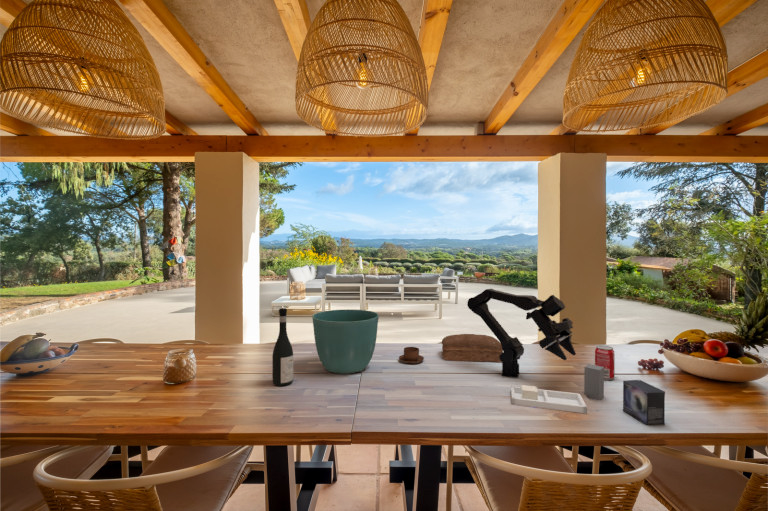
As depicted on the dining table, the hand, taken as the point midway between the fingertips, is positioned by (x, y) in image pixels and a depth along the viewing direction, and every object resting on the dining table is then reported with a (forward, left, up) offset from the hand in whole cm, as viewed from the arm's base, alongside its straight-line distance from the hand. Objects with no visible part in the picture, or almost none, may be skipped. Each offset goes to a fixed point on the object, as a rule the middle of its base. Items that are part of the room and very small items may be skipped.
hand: (570, 357), depth 142 cm
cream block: (-16, -17, -12) cm, 26 cm away
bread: (-40, +33, -13) cm, 54 cm away
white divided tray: (-10, -17, -13) cm, 24 cm away
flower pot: (-93, -2, -13) cm, 94 cm away
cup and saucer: (-67, +17, -13) cm, 70 cm away
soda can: (+16, +20, -13) cm, 28 cm away
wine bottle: (-109, -28, -13) cm, 113 cm away
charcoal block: (+7, -4, -13) cm, 15 cm away
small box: (+18, -18, -13) cm, 29 cm away
